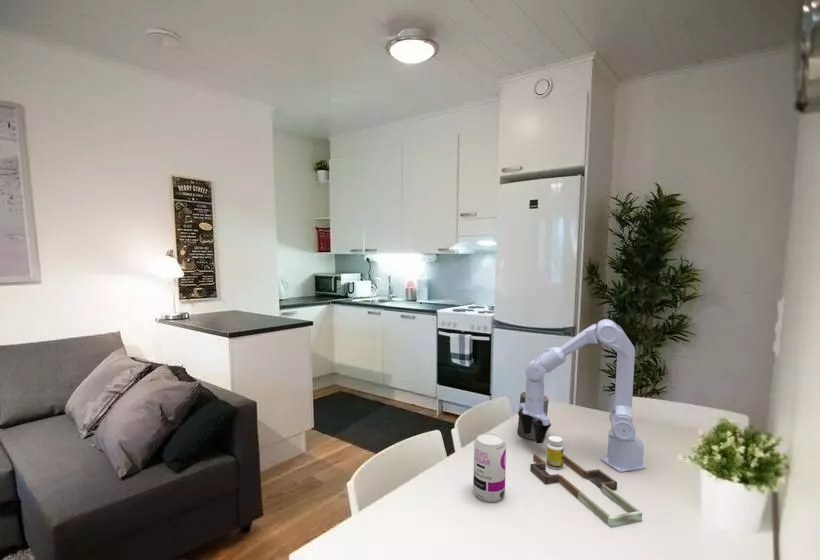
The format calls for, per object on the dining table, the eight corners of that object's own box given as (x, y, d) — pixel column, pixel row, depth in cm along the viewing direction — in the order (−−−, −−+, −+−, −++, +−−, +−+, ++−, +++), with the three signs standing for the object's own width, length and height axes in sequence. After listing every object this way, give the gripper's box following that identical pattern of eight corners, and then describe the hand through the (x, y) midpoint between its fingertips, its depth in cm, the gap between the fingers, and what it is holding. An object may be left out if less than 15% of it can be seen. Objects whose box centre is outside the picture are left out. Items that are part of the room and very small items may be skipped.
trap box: (569, 455, 129) (570, 449, 129) (655, 518, 98) (656, 510, 98) (520, 462, 125) (521, 455, 125) (595, 530, 94) (595, 522, 94)
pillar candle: (511, 430, 146) (514, 389, 146) (532, 427, 150) (535, 387, 150) (530, 441, 137) (533, 397, 137) (552, 438, 142) (555, 395, 141)
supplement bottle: (564, 470, 120) (565, 442, 119) (547, 468, 121) (548, 441, 120) (561, 462, 125) (562, 435, 124) (545, 461, 126) (546, 434, 125)
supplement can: (506, 488, 110) (507, 434, 109) (502, 506, 102) (504, 448, 102) (476, 483, 113) (477, 430, 112) (470, 499, 105) (471, 443, 104)
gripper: (512, 391, 139) (511, 430, 140) (536, 406, 125) (534, 449, 126) (530, 389, 141) (529, 428, 141) (556, 404, 127) (554, 447, 127)
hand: (533, 438), depth 134 cm, fingers open, 7 cm apart
